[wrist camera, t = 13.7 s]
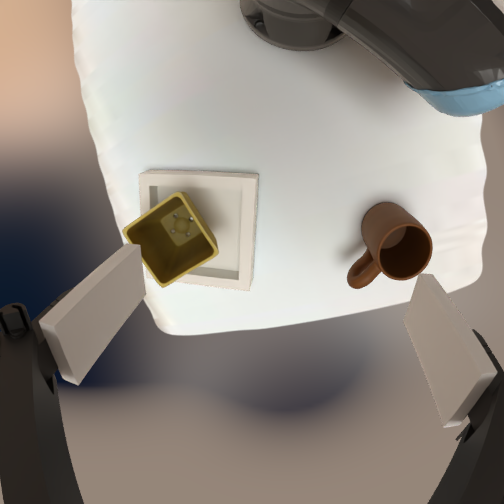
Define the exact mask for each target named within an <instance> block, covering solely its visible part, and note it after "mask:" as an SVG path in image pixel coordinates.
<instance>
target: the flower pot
mask: <svg viewBox="0 0 504 504" xmlns="http://www.w3.org/2000/svg"><path fill="white" fill-rule="evenodd" d="M174 214H177V215H178V217H177V218H175V217H174ZM190 217H192V218H193V221H190V220H189V218H190ZM172 229H174V230H175V232H174V233H172V232H171V230H172ZM122 232H123V235H124V236H125V238H126V239H127V241H128V242H129V244H137V245H140V248H141V257H142V262H143V264H144V265H145V267H146V268H147V269H148V271H149V272H150V274H151V275H152V276H153V278H154V279H155V281H156V282H157V283H158V284H159V285H160V286H161V287H162V288H164V287H166V286H168V285H170V284H171V283H173V282H174V281H176V280H178V279H179V278H181V277H182V276H184V275H186V274H187V273H189V272H191V271H192V270H194V269H196V268H197V267H199V266H201V265H203V264H204V263H206V262H208V261H209V260H211V259H213V258H214V257H216V256H217V255H218V254H219V250H218V245H217V240H216V238H215V236H214V234H213V233H212V231H211V230H210V229H209V227H208V226H207V224H206V222H205V221H204V219H203V218H202V216H201V215H200V213H199V212H198V210H197V208H196V207H195V205H194V204H193V202H192V200H191V199H190V197H189V196H188V194H187V193H186V192H180V191H177V192H175V193H173V194H172V195H170V196H169V197H167V198H166V199H165V200H163V201H162V202H160V203H159V204H157V205H156V206H155V207H153V208H152V209H150V210H149V211H147V212H146V213H145V214H143V215H142V216H140V217H139V218H137V219H136V220H135V221H133V222H132V223H130V224H129V225H128V226H126V227H125V228H124V229H123V230H122ZM188 232H189V233H190V236H187V235H186V233H188Z"/></svg>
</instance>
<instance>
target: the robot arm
mask: <svg viewBox="0 0 504 504" xmlns="http://www.w3.org/2000/svg"><path fill="white" fill-rule="evenodd" d="M240 8H241V11H242V14H243V16H244V18H245V20H246V22H247V24H248V25H249V27H250V28H251V29H252V30H253V31H254V32H255V33H256V34H257V35H258V36H259V37H260V38H262V39H263V40H265V41H267V42H268V43H270V44H273V45H275V46H278V47H281V48H284V49H288V50H295V51H311V50H317V49H321V48H325V47H327V46H330V45H332V44H334V43H336V42H337V41H339V40H340V39H341V38H342V37H344V36H345V35H346V34H347V35H348V36H349V37H351V38H352V39H354V40H355V41H356V42H358V43H359V44H360V45H362V46H363V47H364V48H366V49H367V50H368V51H369V52H371V53H372V54H373V55H375V56H376V57H377V58H378V59H379V60H381V61H382V62H383V63H384V64H386V65H387V66H388V67H389V68H390V69H391V70H393V71H394V72H395V73H396V74H397V75H398V76H399V77H401V78H402V79H403V80H404V83H405V84H406V85H407V86H408V87H409V88H410V89H411V90H413V91H415V92H417V93H418V94H420V95H421V96H422V97H423V98H424V99H425V100H426V101H427V102H428V103H429V104H430V105H431V106H432V107H434V108H435V109H436V110H438V111H439V112H441V113H445V114H447V115H450V116H454V117H469V116H475V115H479V114H482V113H485V112H488V111H491V110H493V109H495V108H497V107H500V106H501V105H503V104H504V0H240ZM145 295H146V290H145V282H144V274H143V266H142V257H141V248H140V245H137V244H125V245H124V246H123V247H122V248H120V250H118V251H117V252H116V253H114V254H113V255H112V256H111V257H110V258H108V259H107V260H106V261H105V262H104V263H102V264H101V265H100V266H99V267H98V268H97V269H95V270H94V271H93V272H92V273H91V274H90V275H89V276H87V277H86V278H85V279H84V280H83V281H82V282H81V283H79V284H78V285H77V286H76V287H75V288H72V289H70V290H68V291H66V292H64V293H62V294H61V295H60V296H59V297H58V298H57V299H56V301H53V302H52V303H51V304H50V306H48V307H47V308H46V309H45V310H44V311H43V312H42V313H41V314H39V315H38V316H37V317H36V318H35V319H34V320H33V321H32V322H31V321H30V318H29V316H28V314H27V310H26V308H25V306H24V305H23V304H20V303H12V304H9V305H6V306H5V307H3V308H1V310H0V329H1V331H2V332H0V479H1V487H2V494H3V500H4V504H84V502H83V499H82V496H81V493H80V490H79V487H78V484H77V481H76V477H75V473H74V470H73V467H72V463H71V459H70V454H69V451H68V446H67V442H66V437H65V432H64V427H63V422H62V416H61V410H60V404H59V397H58V389H57V382H56V378H55V376H54V373H55V371H56V370H57V369H59V371H60V373H61V375H62V377H63V379H64V380H67V381H69V382H72V383H74V384H77V385H79V384H80V382H81V381H82V379H83V378H84V377H85V375H86V374H87V372H88V371H89V370H90V368H91V367H92V365H93V364H94V363H95V361H96V360H97V358H98V357H99V356H100V354H101V353H102V352H103V350H104V349H105V347H106V346H107V345H108V343H109V342H110V341H111V339H112V338H113V337H114V335H115V334H116V333H117V331H118V330H119V329H120V327H121V326H122V325H123V324H124V322H125V321H126V320H127V318H128V317H129V316H130V314H131V313H132V312H133V310H134V309H135V308H136V307H137V305H138V304H139V303H140V301H141V300H142V299H143V298H144V296H145ZM403 323H404V325H405V327H406V330H407V332H408V334H409V337H410V339H411V341H412V344H413V345H414V349H415V351H416V353H417V355H418V358H419V361H420V363H421V366H422V368H423V371H424V374H425V376H426V379H427V382H428V384H429V387H430V390H431V392H432V395H433V398H434V401H435V404H436V407H437V410H438V412H439V416H440V419H441V422H442V425H443V427H444V428H445V427H451V426H457V425H460V424H461V422H462V421H463V420H464V419H465V417H466V416H467V415H468V417H469V419H470V423H469V424H468V425H467V426H466V427H465V429H464V430H463V431H462V432H461V434H460V435H459V436H458V437H457V438H456V440H457V441H458V439H460V437H462V438H461V440H460V442H459V445H458V447H457V449H456V451H455V453H454V456H453V458H452V460H451V462H450V464H449V466H448V468H447V470H446V472H445V474H444V476H443V477H442V479H441V481H440V483H439V485H438V487H437V488H436V490H435V492H434V494H433V495H432V497H431V499H430V500H429V502H428V504H504V371H503V369H502V368H501V366H500V364H499V363H498V361H497V359H496V358H495V356H494V355H493V354H492V351H491V350H490V348H489V347H488V345H487V343H486V342H485V340H484V339H483V337H482V336H481V335H480V334H479V333H477V332H476V331H475V330H474V329H473V330H472V329H471V328H470V326H469V325H468V323H467V322H466V320H465V319H464V317H463V316H462V315H461V313H460V311H459V310H458V309H457V307H456V306H455V305H454V303H453V302H452V300H451V299H450V297H449V296H448V295H447V293H446V292H445V290H444V289H443V288H442V286H441V285H440V284H439V282H438V281H437V280H436V278H435V277H434V276H433V275H432V274H422V273H419V275H418V279H417V282H416V285H415V288H414V291H413V294H412V297H411V300H410V303H409V306H408V309H407V312H406V315H405V317H404V320H403Z"/></svg>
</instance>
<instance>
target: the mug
mask: <svg viewBox="0 0 504 504" xmlns="http://www.w3.org/2000/svg"><path fill="white" fill-rule="evenodd" d="M362 236H363V239H364V242H365V244H366V246H367V250H366V252H365V253H364V254H363V256H362V257H361V258H359V259H358V260H357V261H356V262H355V263H354V264H353V265H352V267H351V268H350V270H349V272H348V275H347V282H348V284H349V286H351V287H352V288H355V289H360V288H363V287H365V286H367V285H368V284H370V283H371V282H372V281H373V280H374V279H375V278H376V277H377V275H378V274H379V273H380V272H383V274H385V275H386V276H387V277H389V278H391V279H394V280H408V279H411V278H413V277H415V276H417V275H418V274H419V273H421V272H422V271H423V270H424V269H425V268H426V266H427V265H428V263H429V261H430V259H431V255H432V248H433V247H432V240H431V237H430V235H429V233H428V232H427V230H426V229H425V228H424V227H423V225H422V224H421V223H420V222H419V221H417V220H416V219H415V218H414V217H413V216H412V215H411V214H409V213H408V212H407V211H406V210H405V209H403V208H402V207H401V206H399V205H397V204H394V203H381V204H378V205H376V206H374V207H373V208H371V209H370V210H369V211H368V213H367V214H366V215H365V217H364V219H363V223H362Z"/></svg>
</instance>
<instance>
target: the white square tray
mask: <svg viewBox="0 0 504 504" xmlns="http://www.w3.org/2000/svg"><path fill="white" fill-rule="evenodd" d="M258 180H259V174H248V173H232V172H213V171H187V170H148V171H145V172H143V173H140V174H139V194H140V211H141V216H142V215H143V214H145V213H146V212H147V211H149V210H150V209H152V208H153V207H155V206H156V205H157V204H159V203H160V202H162V201H163V200H165V199H166V198H167V197H169V196H170V195H172V194H173V193H175V192H177V191H180V192H186V193H187V194H188V196H189V197H190V199H191V200H192V202H193V204H194V205H195V207H196V208H197V210H198V212H199V213H200V215H201V216H202V218H203V219H204V221H205V222H206V224H207V226H208V227H209V229H210V230H211V231H212V233H213V234H214V236H215V238H216V240H217V245H218V250H219V254H218V255H217V256H216V257H214V258H213V259H211V260H209V261H208V262H206V263H204V264H203V265H201V266H199V267H197V268H196V269H194V270H192V271H191V272H189V273H187V274H186V275H184V276H182V277H181V278H179V279H178V280H176V281H174V282H179V283H187V284H194V285H202V286H210V287H218V288H226V289H234V290H243V291H250V287H251V284H252V280H253V265H254V248H255V231H256V214H257V197H258ZM174 217H175V218H177V217H178V215H177V214H174ZM189 220H190V221H193V218H192V217H190V218H189ZM171 232H172V233H174V232H175V230H174V229H172V230H171ZM186 235H187V236H190V233H189V232H188V233H186ZM146 275H147V278H151V279H154V278H153V276H152V275H151V274H150V272H149V271H148V269H147V268H146Z"/></svg>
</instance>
